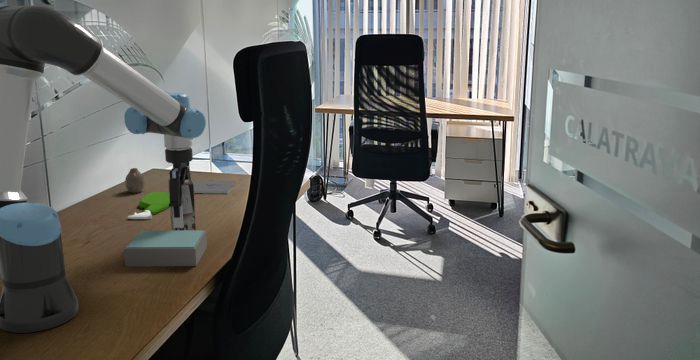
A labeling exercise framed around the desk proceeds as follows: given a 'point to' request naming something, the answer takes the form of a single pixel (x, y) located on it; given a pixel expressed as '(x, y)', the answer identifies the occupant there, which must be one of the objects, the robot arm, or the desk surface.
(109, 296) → the desk surface
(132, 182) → the vase
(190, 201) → the coffee box
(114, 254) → the desk surface
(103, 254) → the desk surface
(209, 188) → the play button award
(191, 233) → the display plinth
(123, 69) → the robot arm
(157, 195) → the spray bottle
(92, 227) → the desk surface
